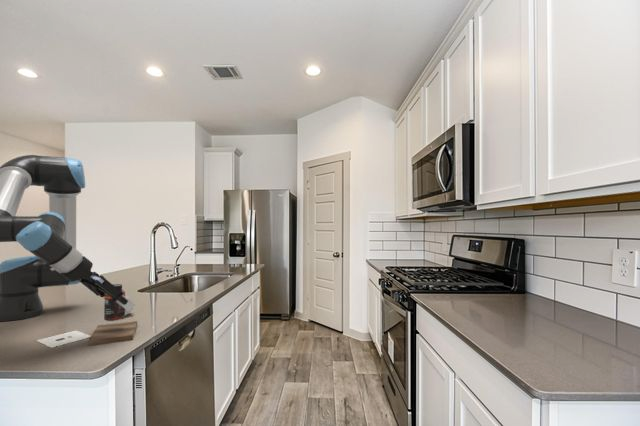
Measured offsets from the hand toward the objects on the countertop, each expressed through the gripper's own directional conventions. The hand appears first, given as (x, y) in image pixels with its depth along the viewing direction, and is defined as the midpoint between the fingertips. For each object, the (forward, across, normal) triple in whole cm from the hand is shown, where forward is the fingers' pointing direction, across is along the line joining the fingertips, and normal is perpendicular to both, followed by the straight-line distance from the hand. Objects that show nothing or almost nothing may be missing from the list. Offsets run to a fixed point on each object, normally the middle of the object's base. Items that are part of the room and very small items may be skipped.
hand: (126, 306), depth 112 cm
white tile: (-4, -10, -16) cm, 19 cm away
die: (+12, -20, 0) cm, 23 cm away
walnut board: (+4, 0, -8) cm, 9 cm away
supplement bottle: (0, 0, -5) cm, 5 cm away
